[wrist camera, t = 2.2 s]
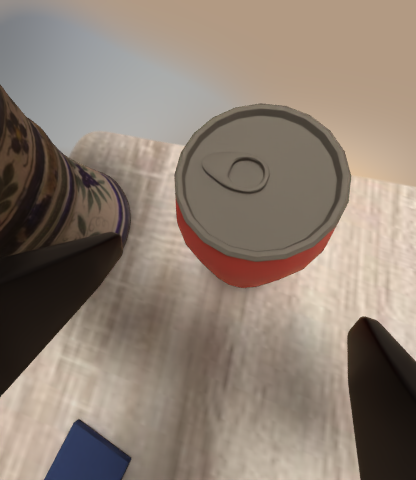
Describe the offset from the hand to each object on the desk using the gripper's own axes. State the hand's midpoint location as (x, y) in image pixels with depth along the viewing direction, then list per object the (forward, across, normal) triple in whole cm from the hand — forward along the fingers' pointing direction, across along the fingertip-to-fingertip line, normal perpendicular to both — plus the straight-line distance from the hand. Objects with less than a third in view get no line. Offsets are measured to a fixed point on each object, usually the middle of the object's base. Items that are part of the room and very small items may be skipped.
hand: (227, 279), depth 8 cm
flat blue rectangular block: (-5, +6, +19) cm, 21 cm away
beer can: (+10, 0, +5) cm, 11 cm away
